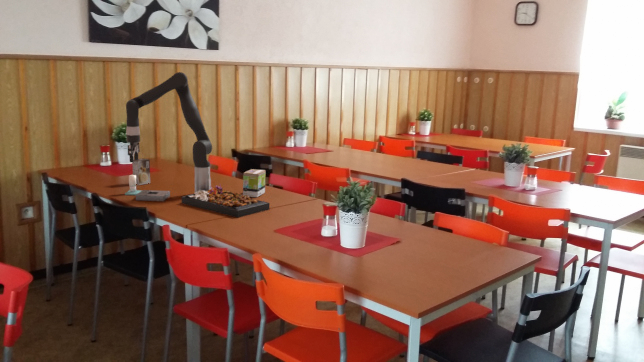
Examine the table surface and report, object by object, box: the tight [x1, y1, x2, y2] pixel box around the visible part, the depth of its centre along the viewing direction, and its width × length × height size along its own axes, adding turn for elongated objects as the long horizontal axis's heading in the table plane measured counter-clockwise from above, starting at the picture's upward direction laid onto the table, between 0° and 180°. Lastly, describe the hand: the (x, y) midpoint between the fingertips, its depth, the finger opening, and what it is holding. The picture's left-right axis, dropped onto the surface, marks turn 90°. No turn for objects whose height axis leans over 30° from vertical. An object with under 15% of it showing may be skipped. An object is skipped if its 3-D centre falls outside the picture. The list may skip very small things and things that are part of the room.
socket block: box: [135, 189, 171, 202], centre depth 335 cm, size 16×14×3 cm
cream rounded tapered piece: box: [128, 174, 137, 192], centre depth 344 cm, size 4×4×10 cm
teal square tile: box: [124, 189, 143, 196], centre depth 345 cm, size 9×9×1 cm
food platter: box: [180, 184, 270, 219], centre depth 321 cm, size 45×25×10 cm, turn 53°
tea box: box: [242, 168, 267, 198], centre depth 353 cm, size 15×10×15 cm, turn 168°
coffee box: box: [131, 158, 151, 186], centre depth 372 cm, size 9×6×16 cm
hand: (134, 161), depth 342 cm, fingers open, 8 cm apart
